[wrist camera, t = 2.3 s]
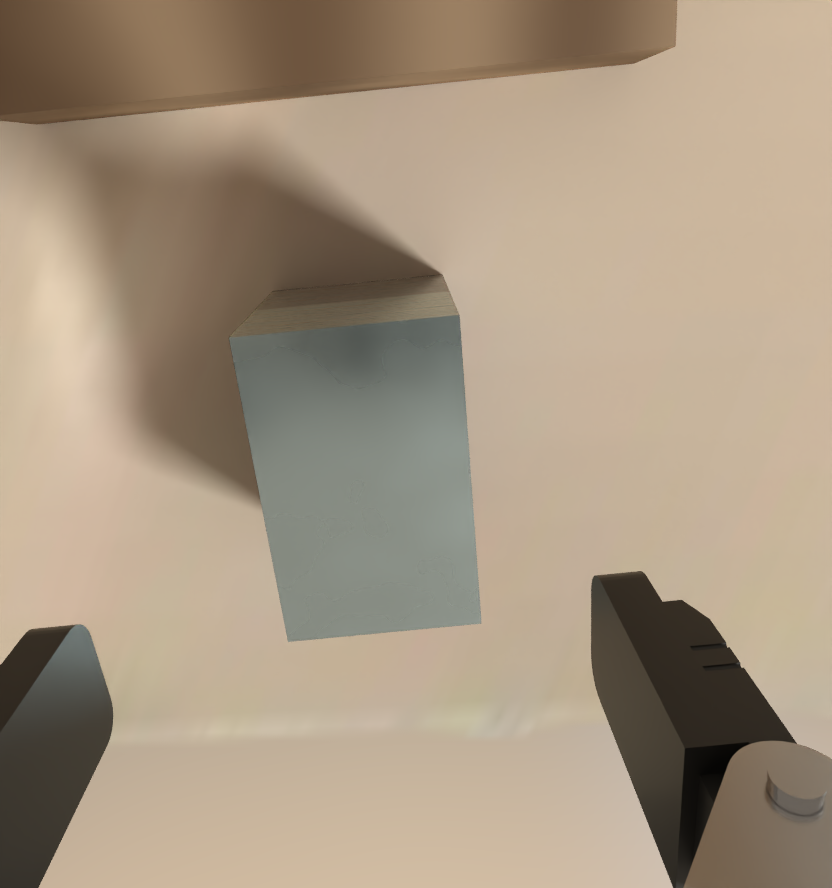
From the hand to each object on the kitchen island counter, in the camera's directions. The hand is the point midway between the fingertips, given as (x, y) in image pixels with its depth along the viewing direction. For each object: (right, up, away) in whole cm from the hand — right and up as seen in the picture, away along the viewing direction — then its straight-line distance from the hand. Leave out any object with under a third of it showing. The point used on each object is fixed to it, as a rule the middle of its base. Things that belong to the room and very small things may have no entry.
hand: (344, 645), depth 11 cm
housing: (0, +4, +11) cm, 12 cm away
